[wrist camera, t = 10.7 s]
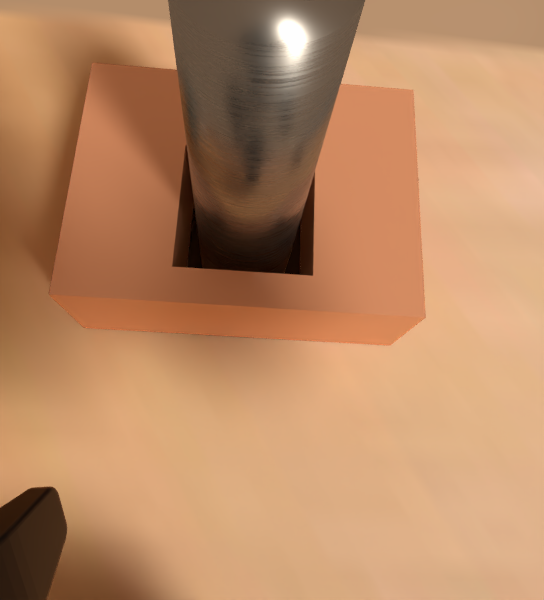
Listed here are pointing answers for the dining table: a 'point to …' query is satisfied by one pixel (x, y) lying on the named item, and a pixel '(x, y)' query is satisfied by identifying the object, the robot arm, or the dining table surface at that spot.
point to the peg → (257, 117)
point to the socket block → (226, 283)
